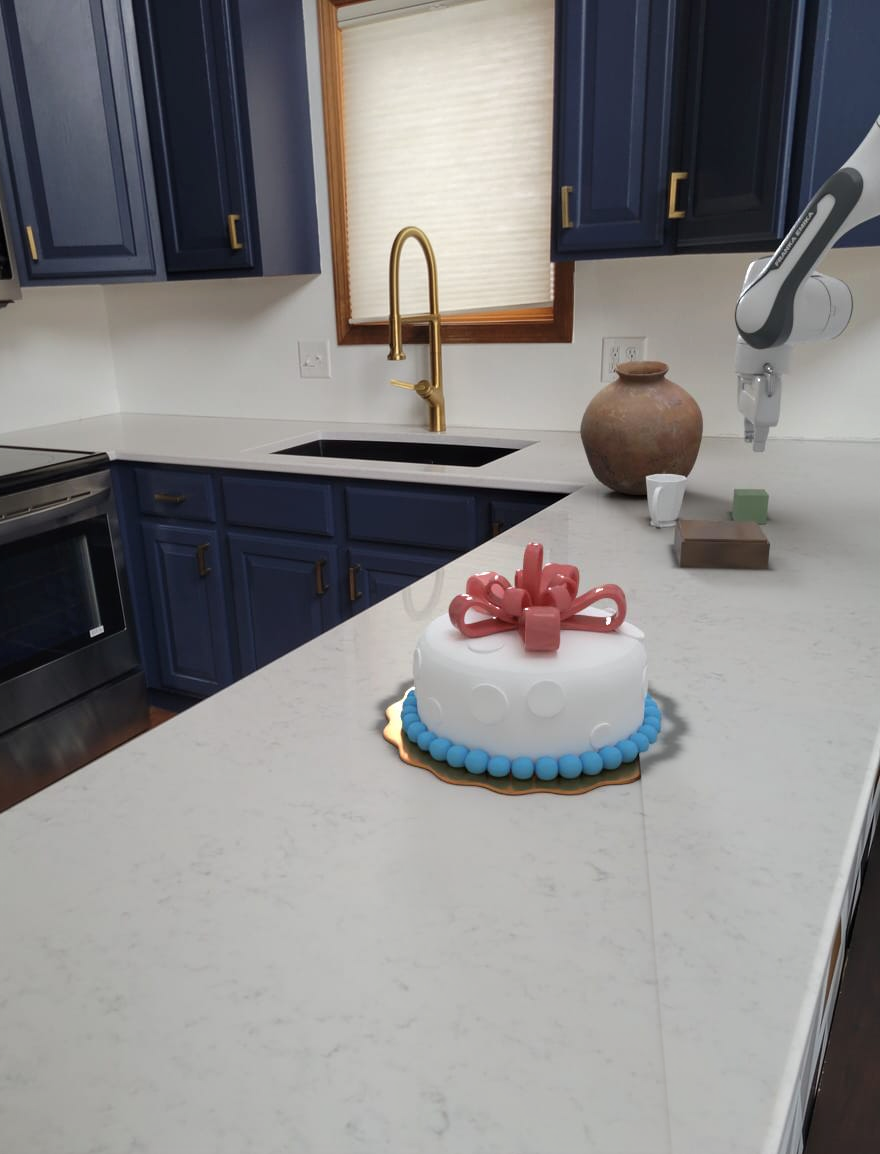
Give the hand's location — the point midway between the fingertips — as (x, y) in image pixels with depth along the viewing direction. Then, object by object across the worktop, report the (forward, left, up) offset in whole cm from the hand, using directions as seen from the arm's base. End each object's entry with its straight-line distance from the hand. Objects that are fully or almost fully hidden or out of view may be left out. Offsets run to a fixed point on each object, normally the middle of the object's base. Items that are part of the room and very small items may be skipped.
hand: (753, 446), depth 161 cm
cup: (+15, +5, -13) cm, 20 cm away
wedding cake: (+32, +86, -13) cm, 92 cm away
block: (0, 0, -13) cm, 13 cm away
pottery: (+18, -22, -13) cm, 31 cm away
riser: (+8, +27, -13) cm, 31 cm away
